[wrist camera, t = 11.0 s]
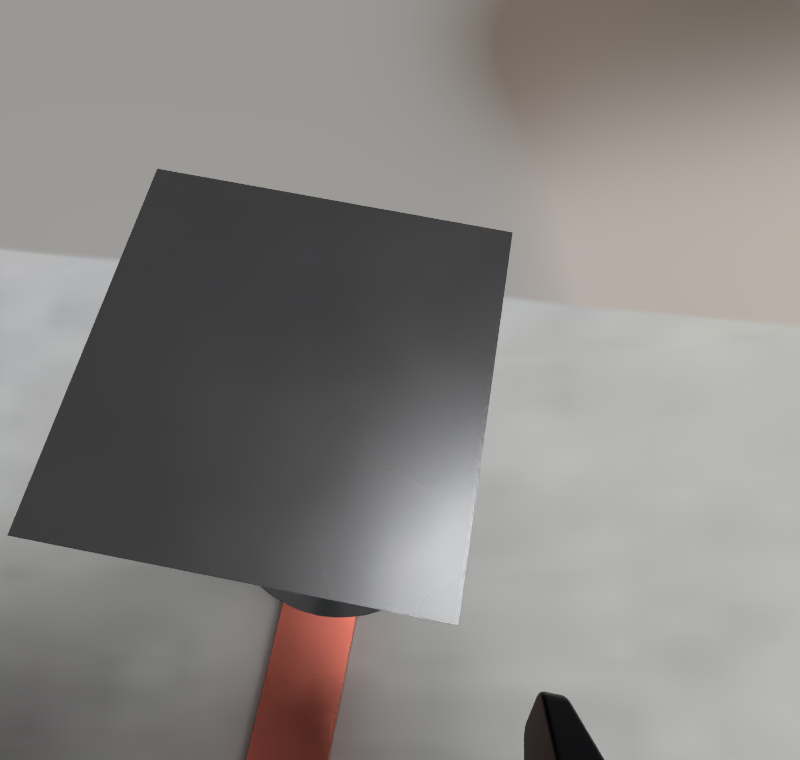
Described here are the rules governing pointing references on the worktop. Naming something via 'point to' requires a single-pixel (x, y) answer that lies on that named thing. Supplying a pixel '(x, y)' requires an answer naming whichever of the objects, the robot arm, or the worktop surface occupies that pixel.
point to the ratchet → (304, 678)
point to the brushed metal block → (282, 398)
